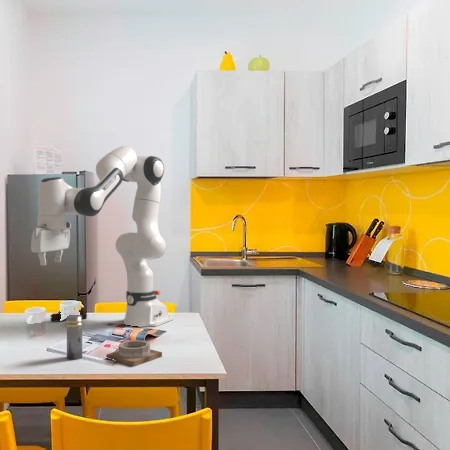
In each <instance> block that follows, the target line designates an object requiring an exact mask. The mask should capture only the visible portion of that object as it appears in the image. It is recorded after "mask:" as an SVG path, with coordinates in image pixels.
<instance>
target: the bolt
mask: <svg viewBox="0 0 450 450" xmlns="http://www.w3.org/2000/svg"><path fill="white" fill-rule="evenodd" d="M78 310H79V312H80V315H82V318H83V319H82V320H86V319H87V317H88V314H87V313H88V312H87V308H86V306H81V307H80V309H78ZM60 311H61V310H59V311H58V312H57V313H56V312H55V313H52V314H50V322H55V321H59V322H60V319H61V314H60V313H61V312H60Z"/></svg>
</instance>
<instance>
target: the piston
mask: <svg viewBox="0 0 450 450" xmlns="http://www.w3.org/2000/svg"><path fill="white" fill-rule="evenodd" d="M65 320H66V321H65V322H66V324H65V325H66V326H65V327H66V359H67V360H68V361H77V360H80V359H83V319H82V315H69V316H67V319H65Z"/></svg>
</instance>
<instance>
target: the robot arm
mask: <svg viewBox="0 0 450 450" xmlns="http://www.w3.org/2000/svg"><path fill="white" fill-rule="evenodd" d="M95 172H96V176H97V178H98V179H99V182H97V184H96V185H94V186H90V187H73V186H72V185H69V184H68V183H67V182H66V181H65V180H64V178H63V177H60V176H58V177H57V176H56V177H55V176H54V177H46V178H43V179H42V180H41V181H40V182H39V185H38V190H37V191H38V192H37V193H38V195H37V204H38V213H37V225H35V228H34V229H33V232H32V233H31V241H30V250H31V252H32V253H35V254H36V253H37V257H38V258H39V265H40V266H48V259H46V256H47V253H48V252H54V251H55V257H53V258H54V259H53V260H54V263H55V264H57V263H61V261H62V255H63V253H64V250H67V249H69V247H70V242H71V241H70V240H71V231H70V229H72V224H71V222H70V221H69V220H67V219H66V217H65V216H66V215H72V216H73V215H74V216H85V217H86V216H87V217H95V216H96V215H98V214H99V213H100V212H101V210H103V209H102V208H103V206H104V204H105V203H106V201H107V200H108V199H109V197H110V196H112V194H113V193H114V192H115V191H116V190H117V189H118V188H119V186H120V185H122V183H123V182H127V183H129V182H131V183H136V184H137V189H136V191H135V196H134V202H133V207H132V215H131V218H132V220H133V221H134V222H135V224H136V227H137V228H136V230H137V232H126V233H123V234H120V235H119V236H118V237H117V238H116V241H115V249H116V252H117V253H118V254H119V255H120V257H121V258H122V260H123V264H124V266H125V270H126V271H125V272H126V281H127V282H126V283H127V284H126V285H127V286H126V287H127V290H126V292H125V298H126V307H125V308H126V309H125V315H124V319H123V325H124V324H127V325H133V326H138V327H137V328H142V327H159V326H160V325H162V324H166V323H168V322H170V321H173V320H174V317H173V316H171V315H169V314H168V312H169V311H168V307H167V305H166V304H164V303H163V302H162V301H161V300H159V299H158V298H157V296H160V295H161V290H158V289H156V290H154V272H153V270H152V269H151V267H150V266H149V265H148V263H147V261H149V260H150V261H152V260H157V259H161V258H162V257H163V256H164V254H165V252H166V249H167V248H166V247H167V243H166V241H165V239H164V238H163V236H162V235H161V232H160V230H159V229H160V228H159V214H160V206H161V200H162V199H161V197H162V183H161V180H162V178H163V176H164V173H165V165H164V162H163V160H162V159H161V158H160V157H157V156H154V155H150V156H148V155H137V154H136V151H135V150H134V149H133V148H131V147H129V146H127V145H123V146H119V147H117V148H115V149H113V150H111V151H110V152H109V153H107V154H105V155H104V156H103V157H102V158H100V159H99V161H98V162H97V163H96V166H95ZM127 325H126V326H127Z"/></svg>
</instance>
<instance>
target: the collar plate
mask: <svg viewBox="0 0 450 450" xmlns="http://www.w3.org/2000/svg"><path fill="white" fill-rule="evenodd" d="M106 357H109V358H111V359H114V360H116V361H117V362H116V361H115V362H116V363H119V364H124V365H127V366H130V367H134V368H135V367H136V366H139V365H142V364H145V363H148V362H151V361H153V360H157V359H158V358H162V357H163V352H161V351H158V350H154V349H152V348H151V344H150V342H149V341H147V340H146V341H145V340H139V339H137V340H136V339H132V340H127V341H123V342H120V343H119V344H118V350H115V351H113V352H109V353H107V354H106Z"/></svg>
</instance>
